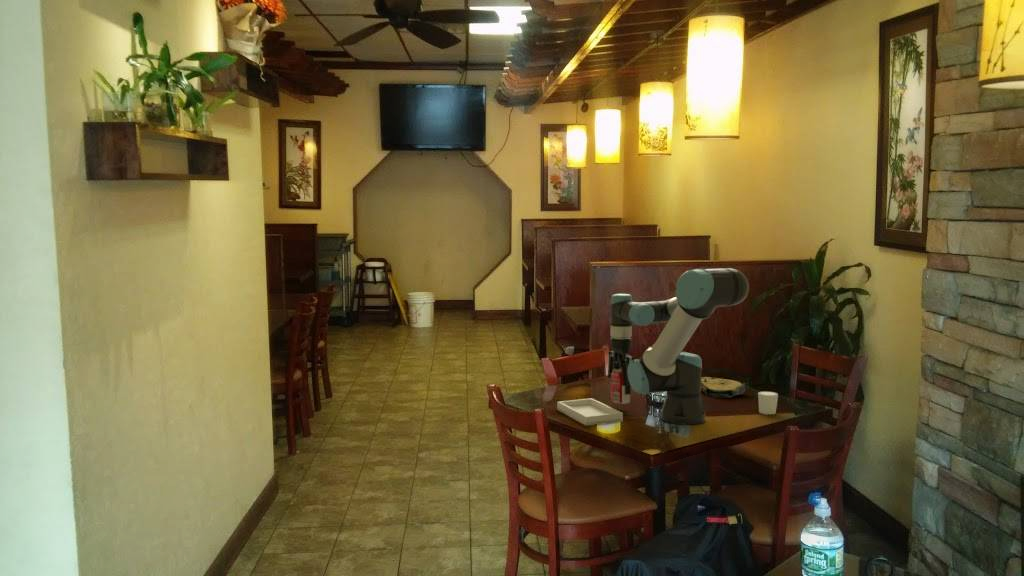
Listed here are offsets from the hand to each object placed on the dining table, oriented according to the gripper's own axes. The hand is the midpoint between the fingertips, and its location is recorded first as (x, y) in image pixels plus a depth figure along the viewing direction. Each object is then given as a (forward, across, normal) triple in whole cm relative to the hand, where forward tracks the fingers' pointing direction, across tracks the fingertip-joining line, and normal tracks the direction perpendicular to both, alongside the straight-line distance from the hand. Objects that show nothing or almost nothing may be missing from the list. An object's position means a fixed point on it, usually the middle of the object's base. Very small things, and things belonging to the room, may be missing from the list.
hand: (620, 400), depth 298 cm
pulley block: (+4, +12, -49) cm, 50 cm away
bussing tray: (+3, -2, +14) cm, 15 cm away
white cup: (+4, -22, -47) cm, 52 cm away
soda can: (+1, 0, 0) cm, 1 cm away
